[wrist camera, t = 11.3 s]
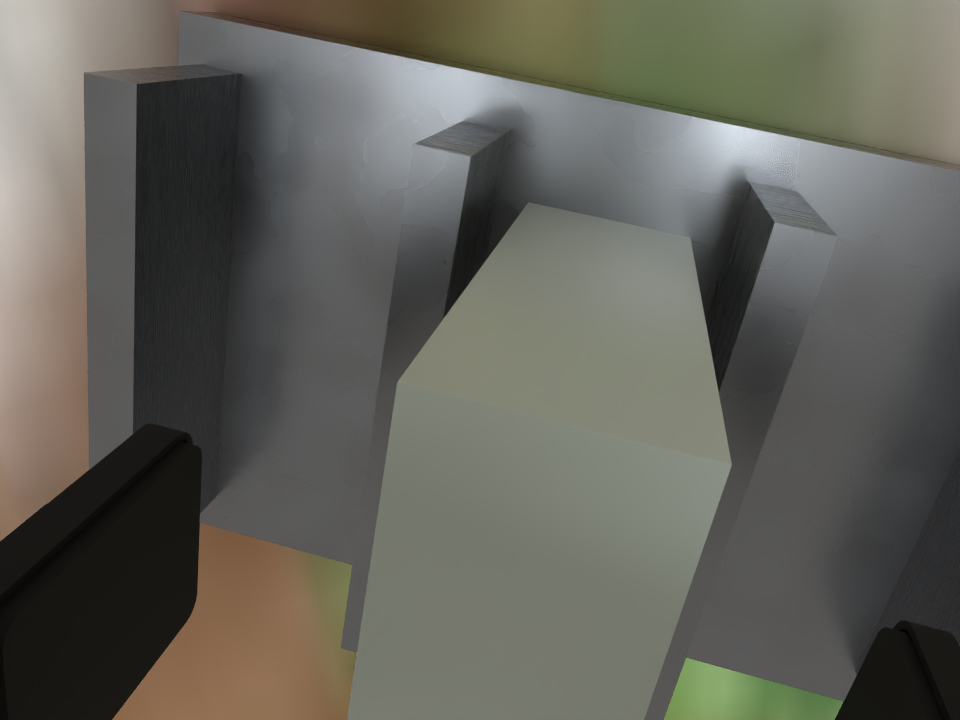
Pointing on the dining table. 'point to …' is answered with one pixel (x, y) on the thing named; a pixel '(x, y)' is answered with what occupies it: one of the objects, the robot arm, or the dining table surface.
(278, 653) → the dining table surface
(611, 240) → the pale green rectangular prism
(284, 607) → the dining table surface
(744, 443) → the rack
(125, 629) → the robot arm
